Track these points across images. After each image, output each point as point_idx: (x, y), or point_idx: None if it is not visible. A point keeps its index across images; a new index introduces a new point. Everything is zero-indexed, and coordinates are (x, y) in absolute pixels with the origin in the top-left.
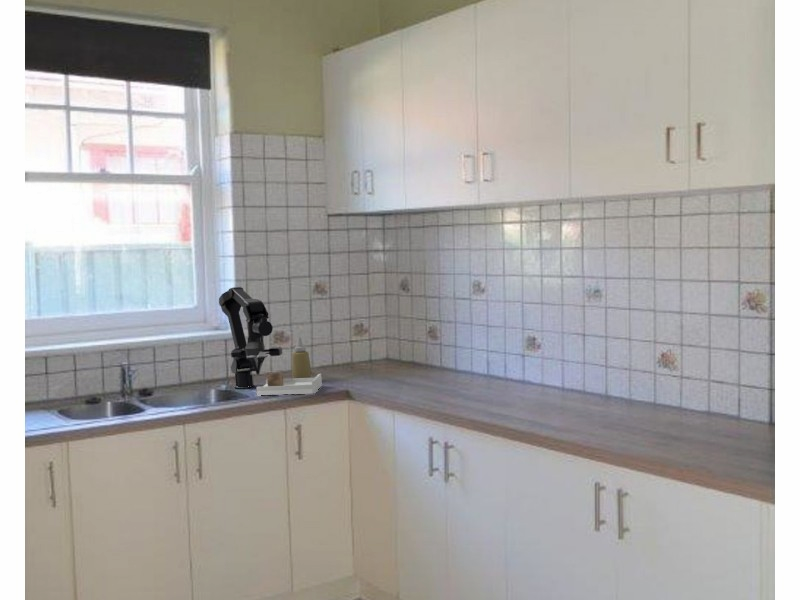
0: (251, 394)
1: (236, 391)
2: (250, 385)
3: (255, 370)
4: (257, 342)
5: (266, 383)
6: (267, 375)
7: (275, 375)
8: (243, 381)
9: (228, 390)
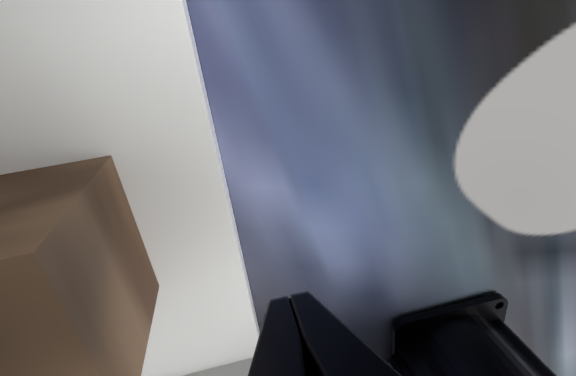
0: (298, 77)
1: (474, 215)
2: (404, 350)
3: (348, 333)
4: None
5: None
6: (31, 250)
7: None
8: (473, 354)
9: (537, 247)
